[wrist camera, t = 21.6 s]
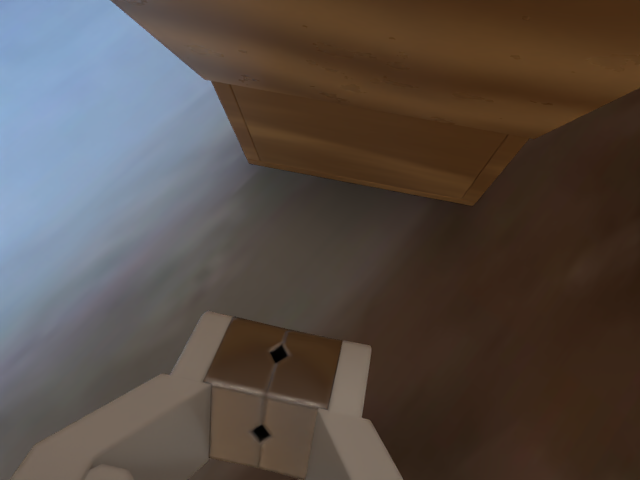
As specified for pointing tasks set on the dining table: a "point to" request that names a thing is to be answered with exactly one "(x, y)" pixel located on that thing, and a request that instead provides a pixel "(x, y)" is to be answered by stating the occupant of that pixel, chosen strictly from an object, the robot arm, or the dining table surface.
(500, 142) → the chest
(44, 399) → the dining table surface
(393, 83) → the lid
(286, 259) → the dining table surface
